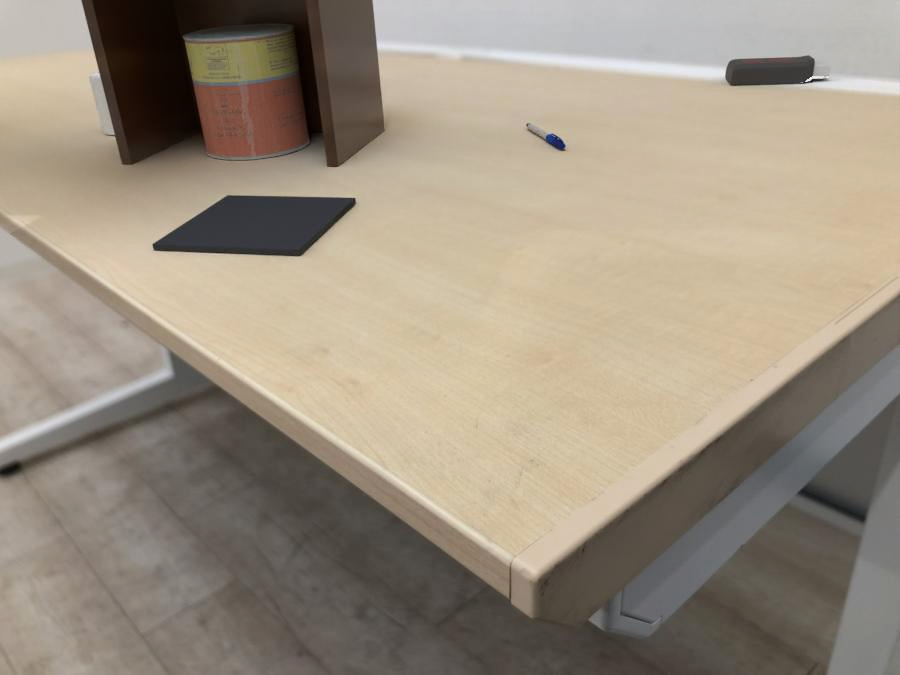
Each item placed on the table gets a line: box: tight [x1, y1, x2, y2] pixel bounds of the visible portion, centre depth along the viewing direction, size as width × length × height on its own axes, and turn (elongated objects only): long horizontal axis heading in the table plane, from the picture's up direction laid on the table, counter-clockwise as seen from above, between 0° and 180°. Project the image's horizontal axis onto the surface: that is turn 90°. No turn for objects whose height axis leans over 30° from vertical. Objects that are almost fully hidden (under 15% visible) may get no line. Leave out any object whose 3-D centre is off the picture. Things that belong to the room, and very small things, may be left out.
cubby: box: [80, 0, 386, 167], centre depth 83 cm, size 24×15×22 cm, turn 76°
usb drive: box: [724, 55, 832, 86], centre depth 103 cm, size 5×12×3 cm, turn 81°
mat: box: [151, 194, 357, 257], centre depth 64 cm, size 12×12×1 cm
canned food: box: [183, 24, 311, 161], centre depth 85 cm, size 11×11×12 cm
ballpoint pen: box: [525, 122, 566, 150], centre depth 83 cm, size 10×1×1 cm, turn 16°
